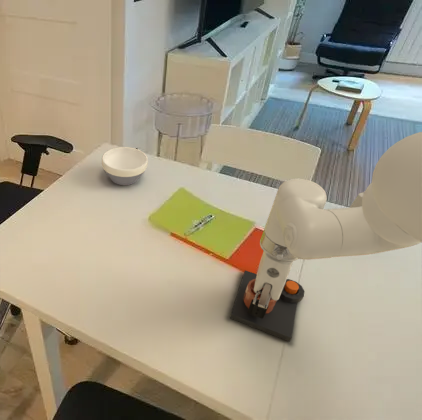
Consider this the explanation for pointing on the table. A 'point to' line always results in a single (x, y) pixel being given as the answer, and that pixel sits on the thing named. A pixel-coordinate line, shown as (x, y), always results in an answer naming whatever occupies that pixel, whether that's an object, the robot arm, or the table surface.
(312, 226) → the robot arm
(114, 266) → the table surface
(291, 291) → the tare button
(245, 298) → the small bowl
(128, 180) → the bowl
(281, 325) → the scale
